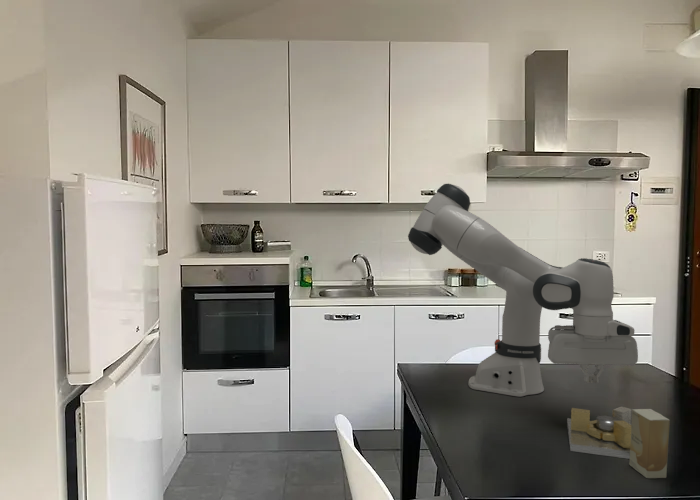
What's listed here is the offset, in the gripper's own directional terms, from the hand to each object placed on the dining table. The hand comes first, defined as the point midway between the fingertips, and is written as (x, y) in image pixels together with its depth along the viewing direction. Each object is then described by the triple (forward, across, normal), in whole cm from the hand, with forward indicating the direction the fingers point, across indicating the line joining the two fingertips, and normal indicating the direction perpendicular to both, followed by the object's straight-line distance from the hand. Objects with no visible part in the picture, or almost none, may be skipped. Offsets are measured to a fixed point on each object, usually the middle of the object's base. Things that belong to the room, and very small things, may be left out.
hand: (591, 382), depth 132 cm
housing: (+12, +2, -6) cm, 14 cm away
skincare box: (+13, +4, -21) cm, 25 cm away
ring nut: (+10, +1, -6) cm, 12 cm away
